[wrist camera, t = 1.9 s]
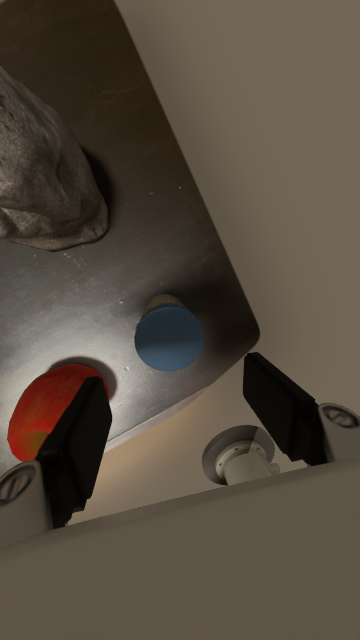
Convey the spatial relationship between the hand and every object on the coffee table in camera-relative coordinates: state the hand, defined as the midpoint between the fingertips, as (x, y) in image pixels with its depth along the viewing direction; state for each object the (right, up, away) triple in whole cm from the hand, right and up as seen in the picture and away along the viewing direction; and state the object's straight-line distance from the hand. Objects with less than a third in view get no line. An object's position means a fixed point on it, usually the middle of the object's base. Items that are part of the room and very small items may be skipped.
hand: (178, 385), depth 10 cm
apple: (-17, -7, +18) cm, 25 cm away
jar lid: (-1, +2, +7) cm, 7 cm away
